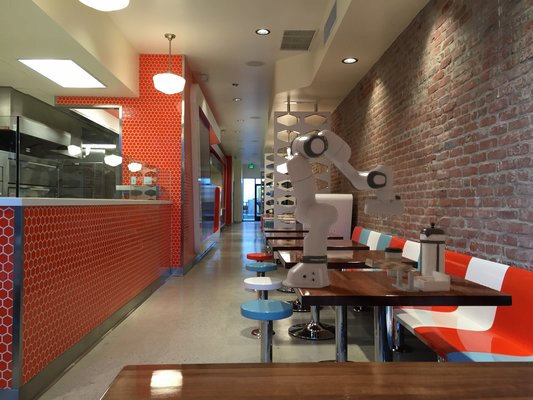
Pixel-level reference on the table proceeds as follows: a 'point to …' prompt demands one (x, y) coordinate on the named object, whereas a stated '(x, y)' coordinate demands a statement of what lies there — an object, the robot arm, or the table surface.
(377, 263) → the lever ramp
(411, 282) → the lever stand
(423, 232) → the coffee press
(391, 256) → the coffee cup
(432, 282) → the dish
